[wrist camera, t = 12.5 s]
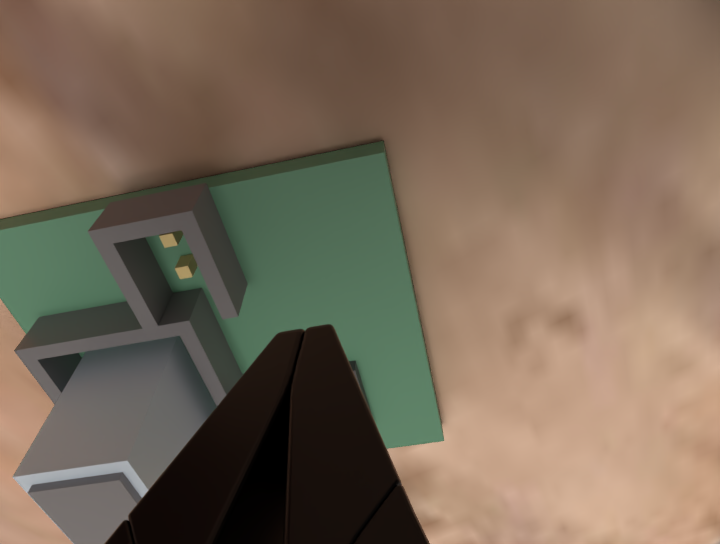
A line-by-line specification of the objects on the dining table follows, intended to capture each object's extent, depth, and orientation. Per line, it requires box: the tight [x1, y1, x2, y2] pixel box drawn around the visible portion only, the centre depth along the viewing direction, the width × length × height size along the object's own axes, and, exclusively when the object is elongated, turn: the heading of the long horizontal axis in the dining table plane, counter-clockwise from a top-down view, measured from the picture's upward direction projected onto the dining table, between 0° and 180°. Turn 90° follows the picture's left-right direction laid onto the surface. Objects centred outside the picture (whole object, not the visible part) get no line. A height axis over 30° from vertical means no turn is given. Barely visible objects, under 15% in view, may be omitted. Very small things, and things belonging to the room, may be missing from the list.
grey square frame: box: [14, 288, 242, 406], centre depth 24 cm, size 7×8×2 cm
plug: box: [13, 336, 217, 544], centre depth 22 cm, size 4×6×6 cm
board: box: [0, 141, 444, 449], centre depth 24 cm, size 16×15×3 cm
